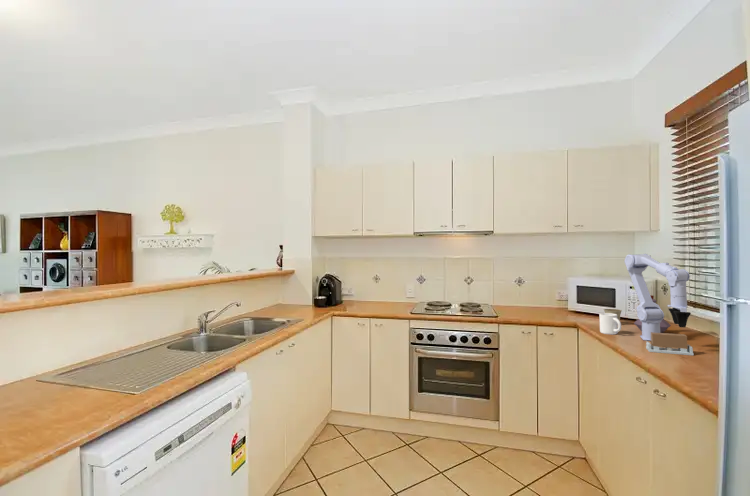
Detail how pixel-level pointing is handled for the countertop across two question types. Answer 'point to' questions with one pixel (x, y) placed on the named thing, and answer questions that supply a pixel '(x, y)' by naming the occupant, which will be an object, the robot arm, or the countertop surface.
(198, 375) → the countertop surface
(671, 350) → the display stand
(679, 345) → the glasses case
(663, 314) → the robot arm
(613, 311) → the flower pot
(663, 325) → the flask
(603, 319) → the mug
